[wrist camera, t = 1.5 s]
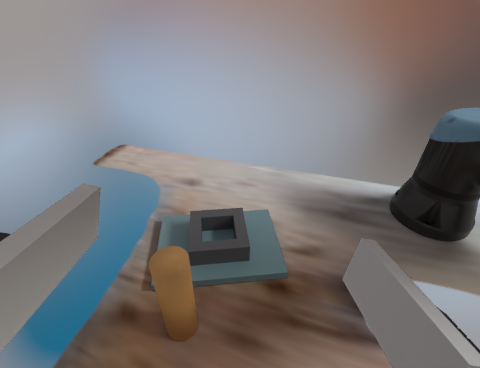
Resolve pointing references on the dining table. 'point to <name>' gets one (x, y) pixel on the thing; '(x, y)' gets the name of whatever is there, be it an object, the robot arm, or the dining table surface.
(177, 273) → the cylinder
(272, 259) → the dock
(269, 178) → the dining table surface
